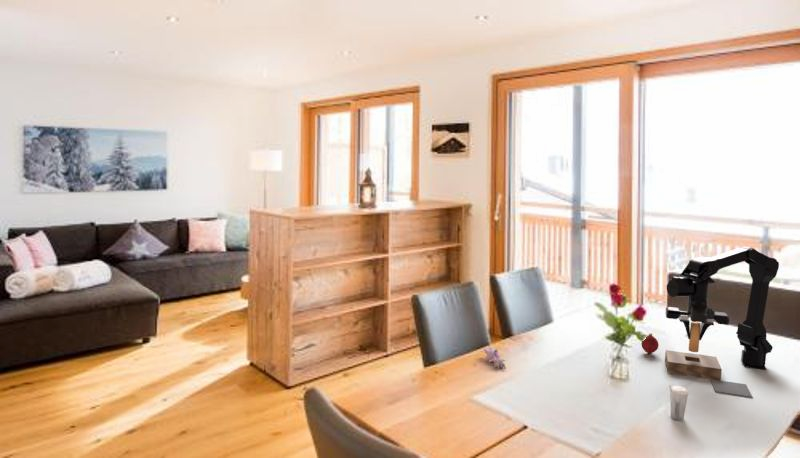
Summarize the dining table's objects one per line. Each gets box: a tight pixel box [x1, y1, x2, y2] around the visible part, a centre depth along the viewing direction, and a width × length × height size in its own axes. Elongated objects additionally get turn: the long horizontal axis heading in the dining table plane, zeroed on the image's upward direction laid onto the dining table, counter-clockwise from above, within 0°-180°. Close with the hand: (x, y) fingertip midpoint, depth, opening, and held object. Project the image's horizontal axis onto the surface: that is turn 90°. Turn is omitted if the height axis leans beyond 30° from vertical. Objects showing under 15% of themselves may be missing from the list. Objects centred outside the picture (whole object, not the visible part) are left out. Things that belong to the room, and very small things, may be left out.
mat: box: [710, 379, 753, 399], centre depth 171 cm, size 10×10×1 cm
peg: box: [688, 321, 701, 353], centre depth 184 cm, size 3×3×10 cm
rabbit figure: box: [483, 346, 507, 370], centre depth 191 cm, size 6×6×15 cm
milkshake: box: [668, 384, 689, 422], centre depth 151 cm, size 4×5×10 cm
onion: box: [640, 332, 660, 355], centre depth 200 cm, size 6×6×8 cm
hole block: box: [664, 349, 723, 381], centre depth 186 cm, size 16×12×4 cm
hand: (694, 339), depth 184 cm, fingers closed on peg, 3 cm apart
